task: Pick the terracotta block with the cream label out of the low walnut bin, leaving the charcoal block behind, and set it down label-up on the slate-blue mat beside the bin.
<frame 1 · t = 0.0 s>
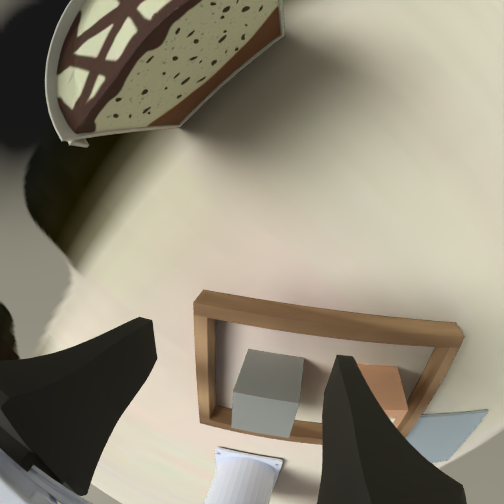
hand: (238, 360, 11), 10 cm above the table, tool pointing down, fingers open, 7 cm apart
walnut bin: (319, 380, 23), on the table
plain block: (273, 372, 23), resting in walnut bin
labelled block: (364, 383, 22), resting in walnut bin
slate mat: (434, 440, 23), on the table
food container: (202, 52, 16), on the table
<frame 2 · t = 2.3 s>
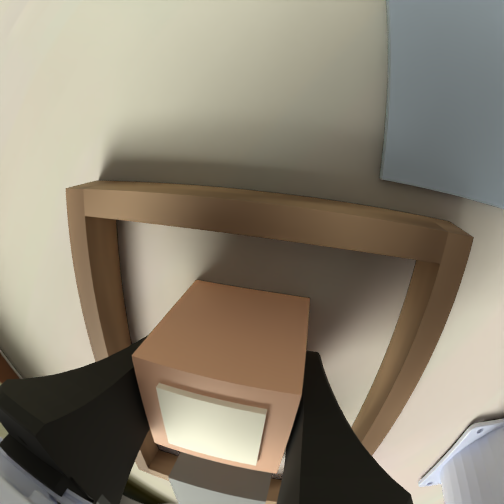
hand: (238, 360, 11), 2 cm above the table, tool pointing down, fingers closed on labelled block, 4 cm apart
walnut bin: (242, 397, 14), on the table
plain block: (239, 437, 15), resting in walnut bin
labelled block: (247, 335, 12), resting in walnut bin, touching gripper
slate mat: (502, 82, 6), on the table
food container: (20, 384, 22), on the table
when the fingers open (3 cm above the table, at t = 6.6 s): labelled block stays where it is, resting on slate mat.
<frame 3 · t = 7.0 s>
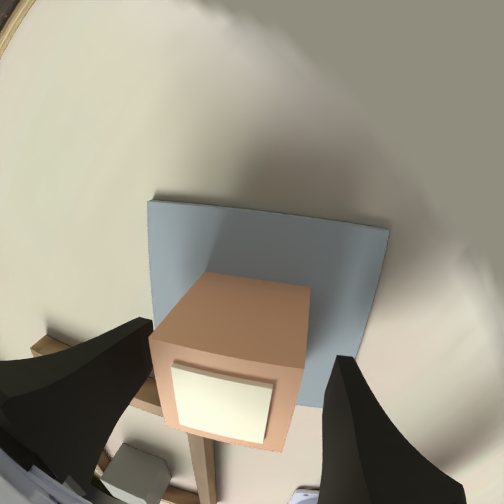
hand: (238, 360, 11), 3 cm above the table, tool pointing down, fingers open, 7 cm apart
walnut bin: (139, 442, 21), on the table
plain block: (147, 461, 22), resting in walnut bin
labelled block: (252, 324, 13), resting on slate mat
slate mat: (254, 318, 13), on the table
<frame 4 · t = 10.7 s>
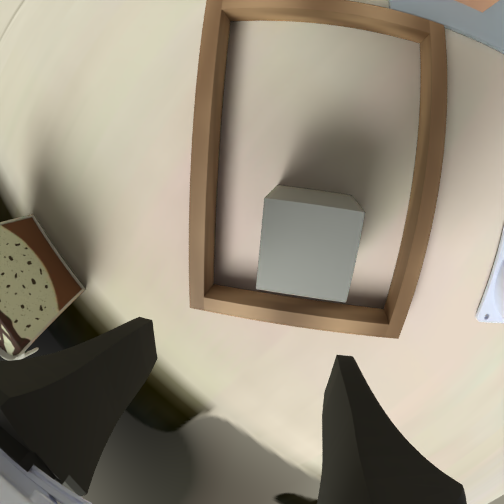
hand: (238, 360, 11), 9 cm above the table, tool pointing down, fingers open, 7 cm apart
walnut bin: (317, 160, 17), on the table
plain block: (310, 225, 18), resting in walnut bin
food container: (48, 267, 25), on the table
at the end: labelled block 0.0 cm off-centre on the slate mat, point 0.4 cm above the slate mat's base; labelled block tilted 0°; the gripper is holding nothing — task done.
